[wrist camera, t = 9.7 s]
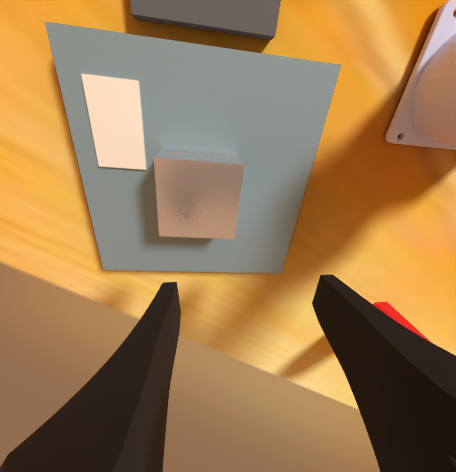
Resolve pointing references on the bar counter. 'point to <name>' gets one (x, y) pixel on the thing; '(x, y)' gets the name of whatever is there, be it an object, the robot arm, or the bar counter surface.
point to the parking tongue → (213, 15)
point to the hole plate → (189, 140)
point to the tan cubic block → (197, 193)
